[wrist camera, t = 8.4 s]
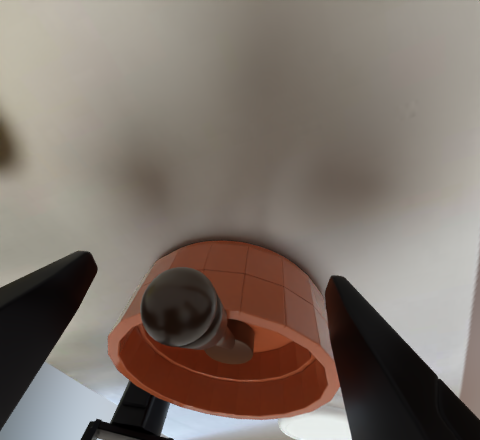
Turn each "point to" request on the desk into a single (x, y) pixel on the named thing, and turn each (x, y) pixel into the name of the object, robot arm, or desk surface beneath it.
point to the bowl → (265, 338)
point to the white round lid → (319, 422)
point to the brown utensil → (194, 317)
